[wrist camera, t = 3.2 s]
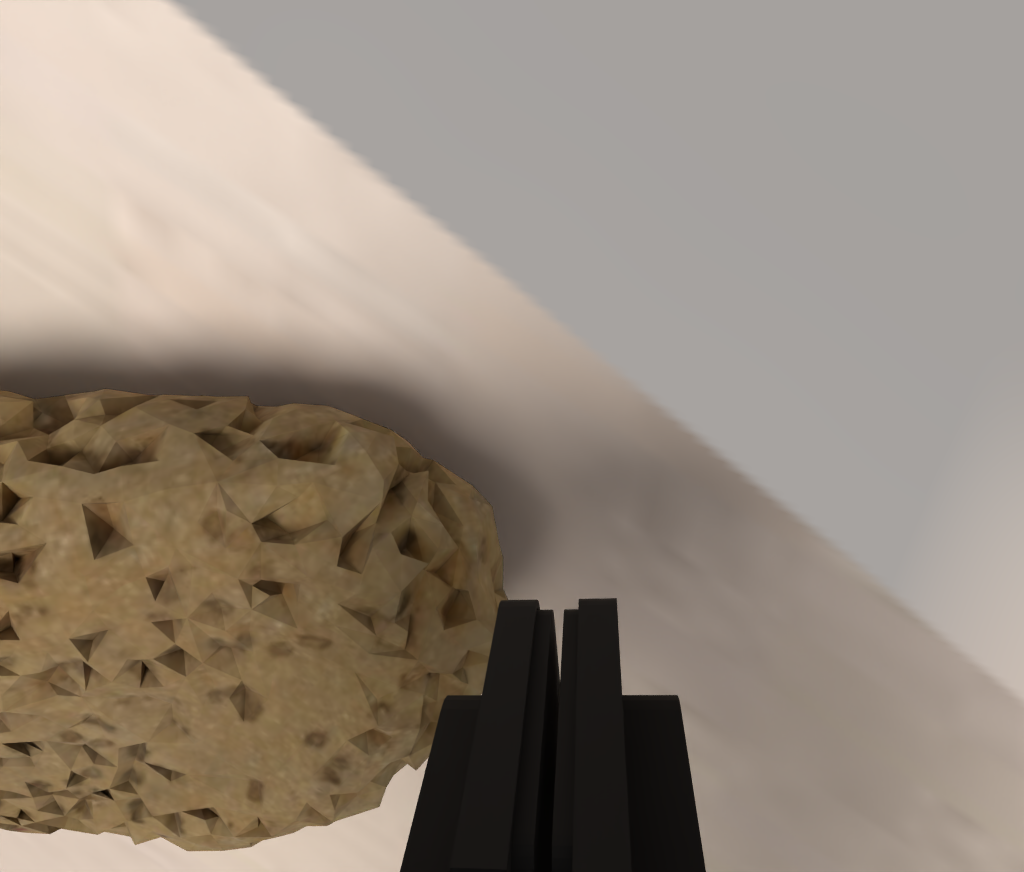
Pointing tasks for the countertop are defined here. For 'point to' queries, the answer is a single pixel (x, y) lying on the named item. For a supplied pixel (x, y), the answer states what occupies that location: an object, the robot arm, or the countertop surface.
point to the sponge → (225, 614)
